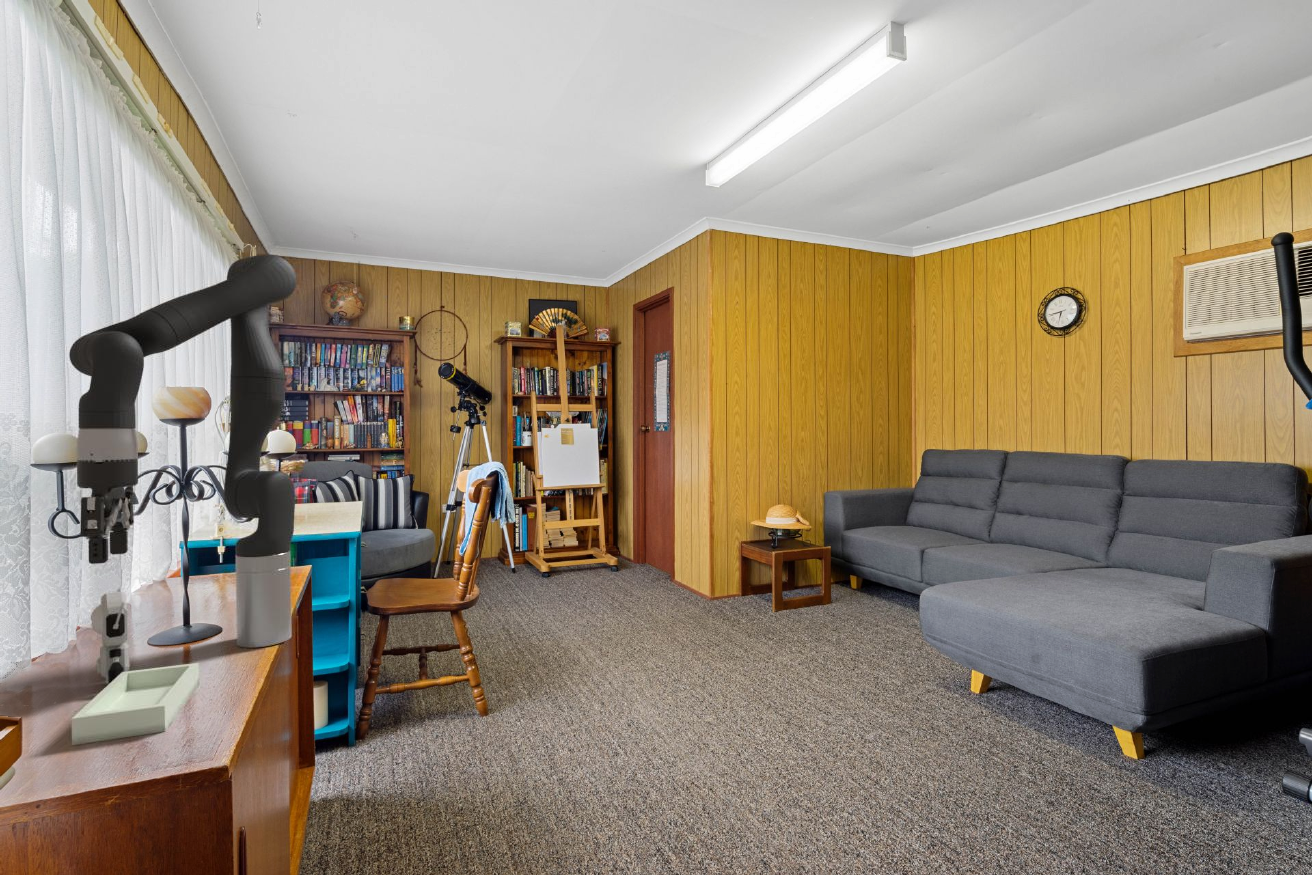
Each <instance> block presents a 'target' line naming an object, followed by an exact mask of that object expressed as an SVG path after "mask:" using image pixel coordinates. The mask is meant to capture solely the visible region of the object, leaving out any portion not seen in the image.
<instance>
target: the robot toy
mask: <svg viewBox="0 0 1312 875" xmlns="http://www.w3.org/2000/svg"><path fill="white" fill-rule="evenodd" d="M126 596H127V595H126V594H125V593H124V592H122V591H121V588H119V587H118V588H117V590H116V591H112V592H106V593H104V594H103V595H102V596H101V598H100V604H99V605H98V606H97V607H94V609H93V610H92V612H91V615H90V620H91V628H92V630H93V631H94V632H95V633H97V634H99V635H101V641H102V645H101V647H100V648H99V657H98V658H97V659H96V672H97V673H98V674H100V676H101V677H103V678H105V685H109V684H110V683H111V682H112V681H113V680H114V679H115V678H116V677H117V676H119V675H120V674H121V673H122V672H127V671H130V646H129V643H128V642H126V641H127V640H128V631H129V630H128V606H127V597H126Z"/></svg>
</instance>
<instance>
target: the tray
mask: <svg viewBox="0 0 1312 875" xmlns="http://www.w3.org/2000/svg"><path fill="white" fill-rule="evenodd" d="M199 686H200V662H195V663H194V662H193V663H186V664H179V665H178V664H177V665H171V666H170V665H169V666H161V667H153V668H144V669H136V670H135V669H134V670H129V671H127V672H122V673H121V674H120V675H119V676H117V677H116V678H115V679H114V680H113V681H112V682H111V683H110V684H107V686H105V687H104V688H103V689H102V690H101V691H100V692H98V694H97V695H96V696H94V697H93V698H92V699H91V700H90V701H89V702H87V704H85V706H84V707H82V708H81V709H80V710H79V711H78V712H77V713H76V714H75V715H74V716H73V717H71V745H72V746H77V745H83V744H84V745H85V744H90V743H97V742H98V743H99V742H104V741H110V740H117V739H124V738H130V737H136V736H138V737H139V736H142V735H143V736H144V735H149V734H150V735H151V734H154V733H155V734H156V733H163V732H166V731H167V730H168V729H169V727H170V725H171V724H172V723H173V722H174V720H175V718H176V717H177V715H179V713H180V712H181V710H182V709H183V708H184V707H185V705H186V703H187V702H188V700H190V698H191V697H192V695H193V694H194V692H195V691H196V689H197V688H198V687H199Z"/></svg>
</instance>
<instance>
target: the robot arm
mask: <svg viewBox="0 0 1312 875" xmlns="http://www.w3.org/2000/svg"><path fill="white" fill-rule="evenodd" d="M297 280H298V279H297V274H296V271H295V270H294V268H293V266H292V265H291V264H290V262H288V261H287V260H286V259H285V258H283V257H281V256H279V255H274V254H269V253H268V254H266V253H265V254H256V255H252V256H248V257H243V258H239V259H237V260H235V261H234V262H233V263H232V264H231V265H230V266H229V268H228V270H227V275H226V279H225V280H223V281H220V282H218V283H216V284H213V285H211V286H207V287H204V288H201V289H198V290H195V291H192V292H189V293H187V294H183V295H180V296H177V297H175V298H172V299H170V300H167V301H165V302H162V303H160V304H158V305H155V306H153V307H151V308H148V309H146V310H144V311H142V312H139V313H138V314H137V315H135V316H133V317H130V318H128V319H126V320H123V321H120V322H117V323H113V324H111V325H108V326H105V327H103V328H99V329H97V330H93V331H91V332H89V333H86V334H85V335H82V336H80V337H79V338H77V339H76V340H75V341H74V342H73V343H72V345H71V347H70V350H69V354H68V355H69V356H68V357H69V361H70V363H71V365H72V366H73V367H74V369H76V371H79V373H81V374H83V375H85V376H89V377H90V382H89V389H88V390H87V392H85V393H83V394H82V395H81V396H80V398H79V400H78V434H77V440H76V486H77V487H79V488H80V489H90V490H91V495H90V496H85V497H84V496H83V497H81V500H80V531H79V535H80V537H81V538H85V539H86V540H88V541H87V542H88V563H89V564H90V565H95V564H96V565H97V564H105V563H107V562H108V561H109V553H110V555H123V554H126V553H128V551H129V544H128V542H129V539H128V538H129V536H128V535H129V534H128V533H129V532H128V531H130V528H131V526H134V523H135V521H134V499H133V497H134V496H133V495H134V493H133V491H132V490H131V489H128V490H125V488H126V487H127V488H128V487H134V486H137V485H138V483H139V456H138V455H139V451H138V450H139V447H138V444H139V443H138V437H137V432H136V431H137V430H136V426H137V424H136V400H137V397H138V394H139V390H140V386H141V383H142V380H143V379H142V378H143V374H144V368H145V358H146V357H149V356H151V355H156V354H161V353H164V352H166V351H169V350H171V349H174V348H176V347H178V346H181V344H183V343H186V342H187V341H190V340H192V339H193V338H195V337H197V336H199V335H201V334H203V333H205V332H207V331H209V330H210V329H212V328H215V327H216V326H218V325H219V324H221V323H223V322H224V323H225V321H228V320H230V376H229V377H230V379H229V380H230V381H229V382H230V385H229V398H230V401H229V402H230V420H229V439H228V440H229V441H228V442H229V445H228V453H227V459H226V467H225V475H224V485H223V486H224V488H223V496H224V497H223V498H224V504H225V507H226V509H227V511H228V513H229V514H230V515H232V516H233V517H236V518H239V519H240V518H241V519H258V522H257V527H256V530H254V531H253V533H251V534H249V535H246V536H244V537H241V538H240V539H237V541H236V543H235V548H234V549H235V550H234V551H235V597H236V598H235V599H236V600H235V601H236V602H235V605H236V608H235V609H236V611H235V612H236V645H237V646H238V647H241V648H248V649H249V648H261V647H268V646H274V645H276V644H277V645H278V644H281V643H283V642H286V641H288V640H290V639H292V631H293V630H292V578H291V576H292V575H291V572H292V570H291V568H292V567H291V543H292V538H293V536H294V529H295V508H296V490H295V485H294V482H293V480H292V477H291V476H290V475H289V474H288V473H286V472H285V471H280V470H260V469H261V455H262V449H263V446H264V442H265V440H266V439H267V437H268V435H269V433H270V431H272V429H273V427H274V425H275V424H276V422H277V421H278V419H279V418H280V416H281V414H282V411H283V409H284V407H285V401H286V372H285V368H284V365H283V361H282V359H281V357H280V355H279V353H278V350H277V349H276V347H275V345H274V342H273V339H272V338H271V334H270V333H271V332H270V326H269V324H270V322H269V321H270V320H269V318H270V315H269V314H270V304H273V303H279V302H282V301H284V300H287V299H288V298H289V297H290V296H291V295H292V294H294V292H295V290H296V287H297ZM108 537H109V538H108Z"/></svg>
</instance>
